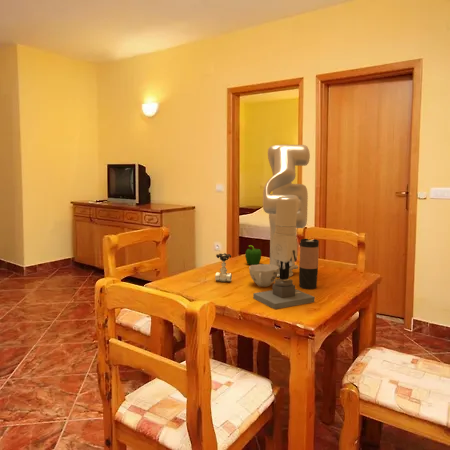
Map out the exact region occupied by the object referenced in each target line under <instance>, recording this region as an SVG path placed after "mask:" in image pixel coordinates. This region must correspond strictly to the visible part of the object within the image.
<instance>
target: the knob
mask: <svg viewBox="0 0 450 450" xmlns="http://www.w3.org/2000/svg"><path fill="white" fill-rule="evenodd" d="M295 289H296V284H294V280H292V279H290V278H288V279H280V278H279V277H278V278H276V279H275V281H274V282H273V283H272V290H273V292H272V294H274V295H276V296H278V297H280V298H286V297H291V296H295Z"/></svg>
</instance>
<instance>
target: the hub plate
mask: <svg viewBox="0 0 450 450" xmlns="http://www.w3.org/2000/svg"><path fill="white" fill-rule="evenodd" d="M272 292H273V289H272V290H266V291H260V292H254V293H253V299H254V300H256V301H258V302H260V303H261V304H264V305H266V306H267V307H269V308H271V309H273V310H278V309H285V308H290V307H295V306H299V305H301V306H302V305H306V304H311V303H315V296H314V295H312V294H308V293H307V292H304V291H302V290H298V289H296V288H295V296H291V297H286V298H280V297H278V296H276V295H274V294H272Z"/></svg>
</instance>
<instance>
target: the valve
mask: <svg viewBox="0 0 450 450" xmlns="http://www.w3.org/2000/svg"><path fill="white" fill-rule="evenodd" d="M215 255H216V256H215V257H216V258H217V259H219V261H222V262H221V268H220V269H219V271H220V272H218V271H217V272H216V273H215V281H216V282H221V283H226V282H228V283H229V282H230V283H231V282H232V273H231V272H228V268H226V267H227V261H228V260H229V259H231V258H232V255H231V253H226V252H225V253H216V254H215Z"/></svg>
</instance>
